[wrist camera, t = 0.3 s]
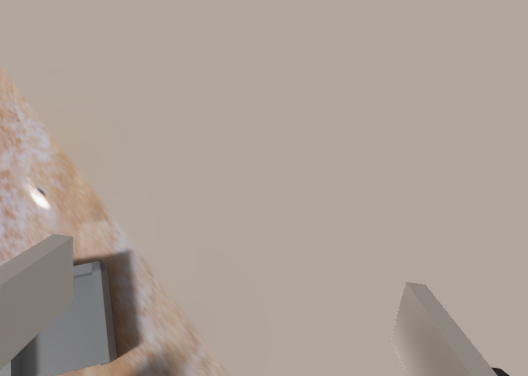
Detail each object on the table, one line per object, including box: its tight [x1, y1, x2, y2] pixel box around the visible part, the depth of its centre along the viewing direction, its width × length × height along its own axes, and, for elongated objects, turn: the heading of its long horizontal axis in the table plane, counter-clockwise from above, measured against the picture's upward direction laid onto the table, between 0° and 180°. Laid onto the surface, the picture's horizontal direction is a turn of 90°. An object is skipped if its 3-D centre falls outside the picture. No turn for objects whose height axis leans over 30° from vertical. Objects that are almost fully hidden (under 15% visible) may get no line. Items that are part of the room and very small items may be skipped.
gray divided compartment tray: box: [0, 261, 117, 376], centre depth 42 cm, size 12×22×3 cm, turn 103°
